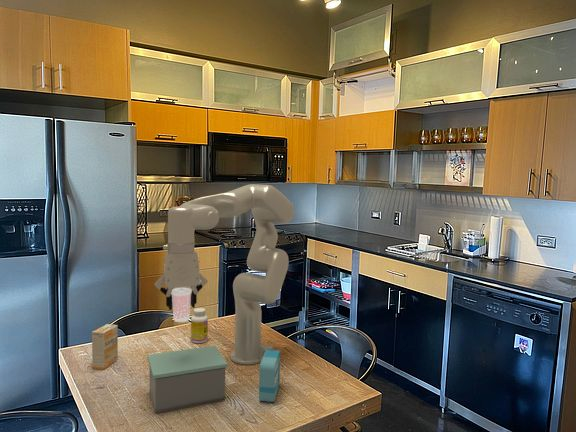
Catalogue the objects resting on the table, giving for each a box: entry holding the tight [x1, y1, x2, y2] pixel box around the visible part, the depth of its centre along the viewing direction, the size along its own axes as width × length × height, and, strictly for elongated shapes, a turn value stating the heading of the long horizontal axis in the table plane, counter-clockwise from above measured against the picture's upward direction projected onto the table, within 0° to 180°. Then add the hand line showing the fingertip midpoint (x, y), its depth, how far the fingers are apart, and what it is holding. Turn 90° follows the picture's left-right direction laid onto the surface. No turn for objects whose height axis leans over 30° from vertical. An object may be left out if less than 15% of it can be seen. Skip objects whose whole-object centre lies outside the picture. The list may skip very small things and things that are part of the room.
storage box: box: [149, 367, 226, 414], centre depth 131 cm, size 20×14×10 cm
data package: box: [258, 349, 281, 403], centre depth 133 cm, size 12×4×12 cm, turn 173°
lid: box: [147, 345, 229, 379], centre depth 130 cm, size 21×15×1 cm
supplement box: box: [91, 323, 119, 371], centre depth 150 cm, size 8×5×13 cm, turn 168°
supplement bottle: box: [190, 307, 209, 344], centre depth 173 cm, size 7×7×13 cm
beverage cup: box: [171, 287, 192, 323], centre depth 129 cm, size 6×6×14 cm
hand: (181, 306), depth 130 cm, fingers closed on beverage cup, 6 cm apart
